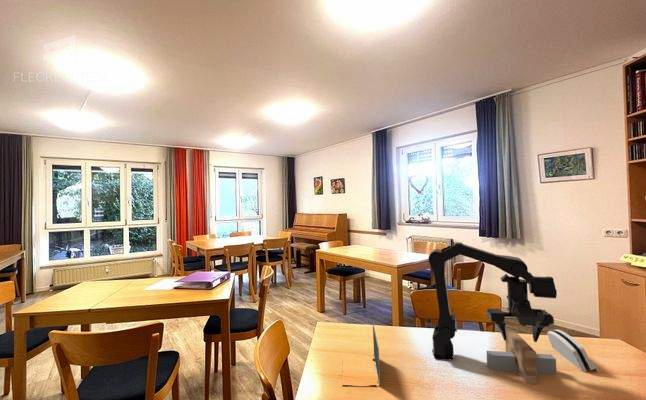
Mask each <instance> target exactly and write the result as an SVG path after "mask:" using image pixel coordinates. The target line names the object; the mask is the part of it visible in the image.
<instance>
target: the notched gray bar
mask: <svg viewBox="0 0 646 400" xmlns="http://www.w3.org/2000/svg"><path fill="white" fill-rule="evenodd" d="M536 362H537V374H547V375H549V374H550V375H557V374H558V373H557V372H558V371H557V359H556V357H554V355H553V354H551V353H548V354H547V353H536ZM486 365H487V367H488V368H489V370H490V371H491V370H492V371H505V372H507V371H508V372H516V373H518V364H517V363H516V358H515V356H514V354H513V353H512V352H506V351H501V350H500V351H497V350H486Z"/></svg>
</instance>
